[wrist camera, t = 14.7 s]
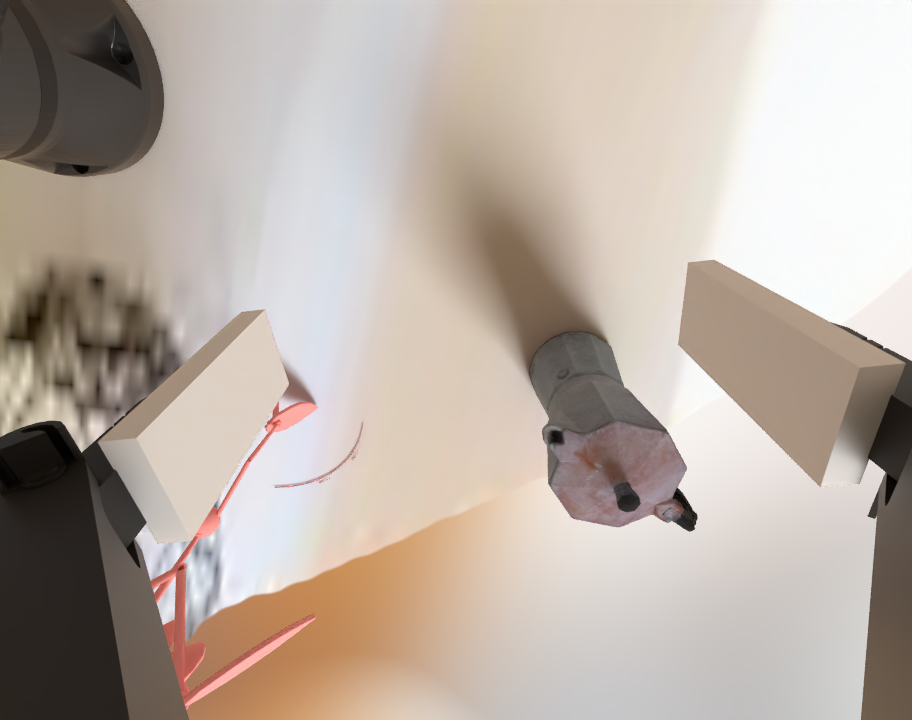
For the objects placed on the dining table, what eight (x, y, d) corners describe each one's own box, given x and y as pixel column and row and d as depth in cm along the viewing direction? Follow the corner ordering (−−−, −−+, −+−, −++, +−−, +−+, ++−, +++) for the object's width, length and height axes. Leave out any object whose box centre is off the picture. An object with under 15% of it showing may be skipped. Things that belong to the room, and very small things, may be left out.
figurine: (140, 426, 51) (-324, 905, 20) (339, 336, 46) (124, 789, 15) (228, 515, 58) (-21, 976, 27) (411, 445, 53) (359, 911, 22)
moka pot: (542, 295, 44) (600, 412, 26) (662, 367, 48) (785, 513, 30) (488, 370, 48) (508, 517, 30) (604, 432, 52) (682, 595, 34)
